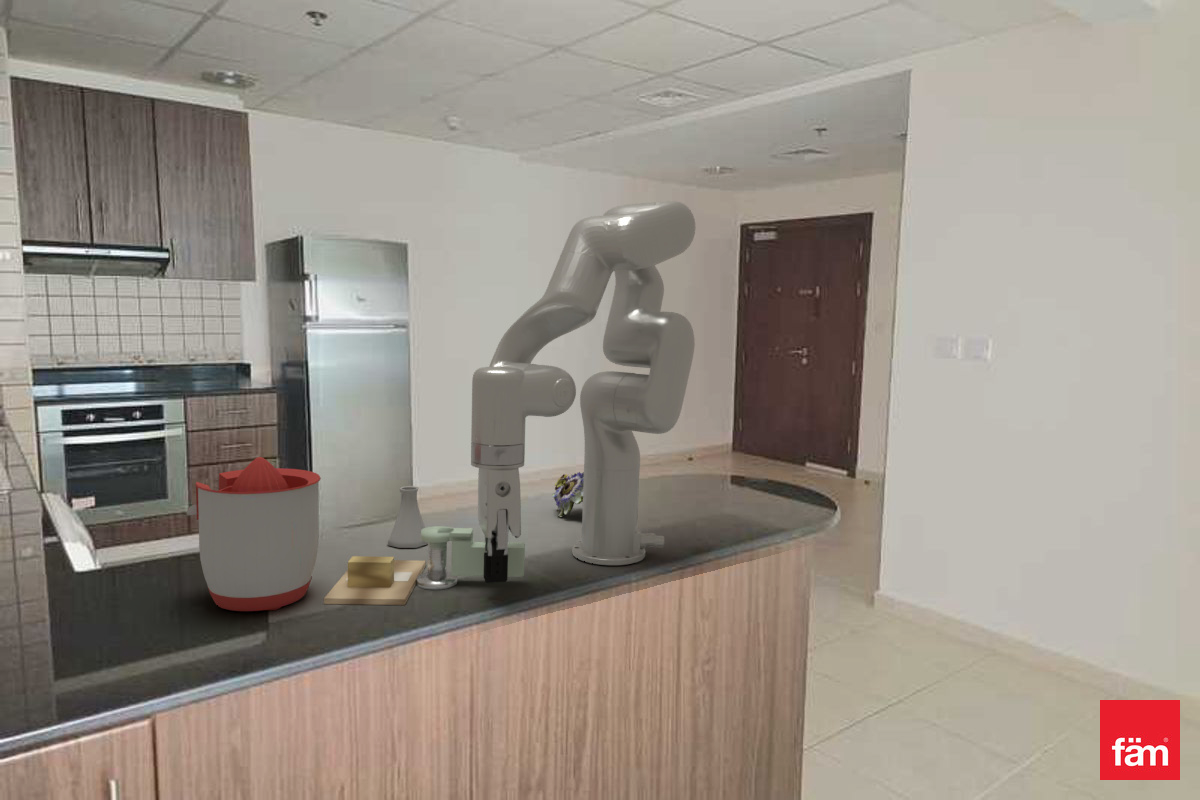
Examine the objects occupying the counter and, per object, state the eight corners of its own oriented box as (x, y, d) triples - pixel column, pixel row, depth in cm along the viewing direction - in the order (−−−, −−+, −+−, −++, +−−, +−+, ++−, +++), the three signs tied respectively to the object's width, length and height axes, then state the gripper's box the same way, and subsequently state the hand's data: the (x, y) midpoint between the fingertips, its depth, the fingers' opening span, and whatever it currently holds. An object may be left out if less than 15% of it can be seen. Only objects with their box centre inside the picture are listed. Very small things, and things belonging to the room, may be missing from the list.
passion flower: (561, 543, 155) (538, 490, 159) (604, 526, 161) (580, 476, 165) (582, 524, 146) (557, 469, 150) (627, 507, 152) (601, 455, 156)
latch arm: (418, 577, 111) (418, 534, 111) (423, 567, 116) (424, 525, 115) (523, 579, 112) (524, 536, 112) (524, 568, 117) (525, 527, 116)
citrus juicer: (223, 576, 113) (221, 444, 111) (337, 581, 113) (337, 449, 111) (159, 616, 98) (155, 464, 96) (292, 623, 97) (291, 470, 95)
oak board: (425, 565, 122) (426, 538, 121) (405, 604, 105) (405, 573, 104) (356, 564, 121) (356, 537, 121) (323, 604, 104) (323, 572, 104)
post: (459, 576, 117) (460, 534, 116) (454, 590, 111) (455, 546, 110) (420, 575, 117) (420, 534, 116) (413, 589, 111) (413, 545, 110)
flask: (418, 551, 129) (419, 493, 128) (379, 547, 130) (380, 490, 129) (436, 539, 136) (437, 485, 135) (399, 536, 138) (399, 482, 136)
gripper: (534, 464, 101) (531, 597, 103) (514, 445, 115) (512, 562, 117) (478, 465, 99) (475, 601, 101) (465, 446, 113) (463, 565, 115)
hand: (495, 580), depth 109 cm, fingers closed
